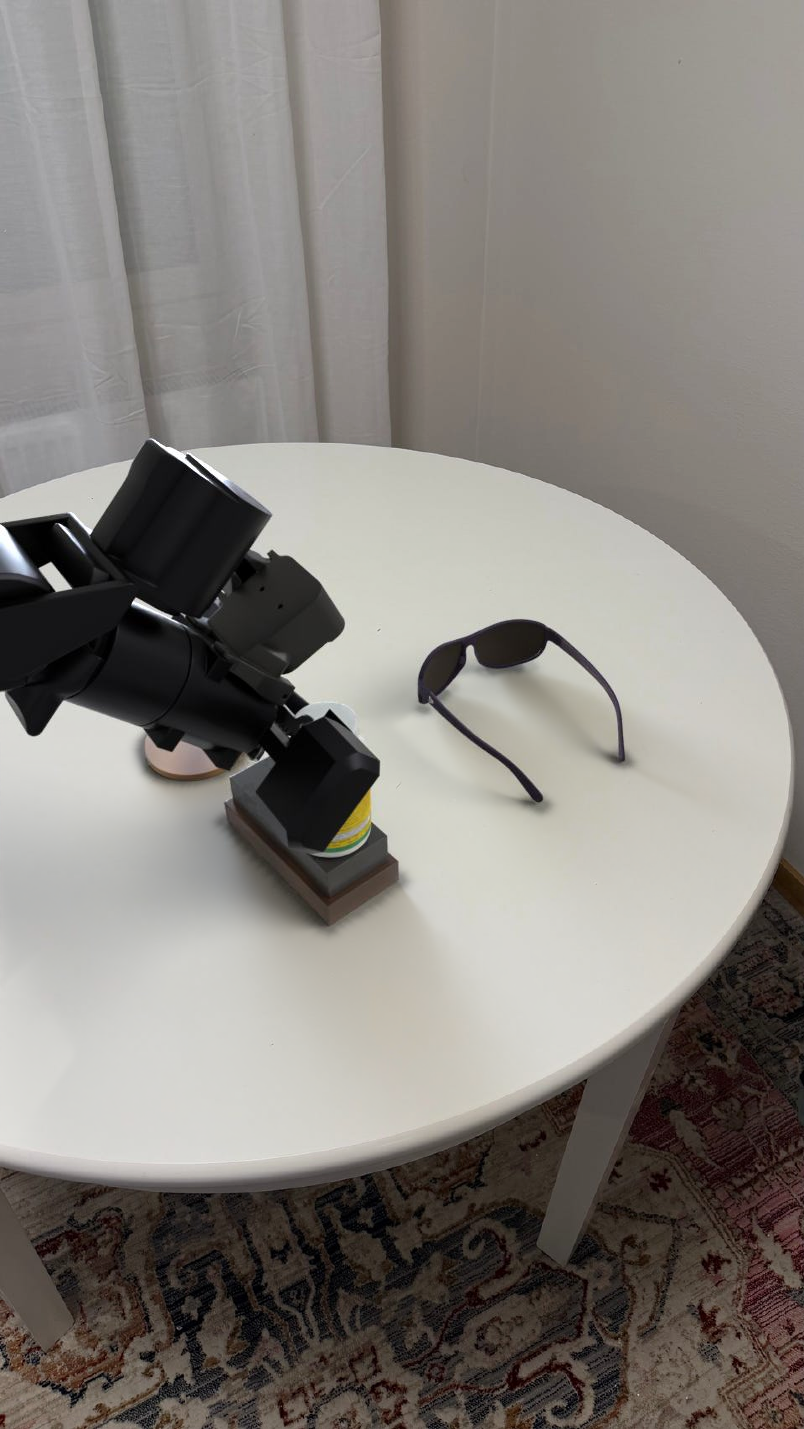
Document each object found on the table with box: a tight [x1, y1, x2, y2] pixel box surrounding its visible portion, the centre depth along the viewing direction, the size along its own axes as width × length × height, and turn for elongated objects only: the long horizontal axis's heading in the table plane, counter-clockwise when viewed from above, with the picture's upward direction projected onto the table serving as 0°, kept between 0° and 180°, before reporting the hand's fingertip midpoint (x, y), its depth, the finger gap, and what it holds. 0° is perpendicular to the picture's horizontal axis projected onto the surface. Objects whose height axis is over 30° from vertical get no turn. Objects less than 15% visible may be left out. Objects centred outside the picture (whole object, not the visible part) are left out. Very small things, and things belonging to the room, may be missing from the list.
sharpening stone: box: [223, 755, 400, 926], centre depth 70 cm, size 13×6×4 cm, turn 40°
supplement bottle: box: [295, 700, 372, 858], centre depth 64 cm, size 5×5×10 cm
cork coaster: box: [143, 734, 244, 782], centre depth 80 cm, size 8×8×1 cm
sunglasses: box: [417, 618, 626, 804], centre depth 80 cm, size 14×16×5 cm
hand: (345, 749), depth 63 cm, fingers closed on supplement bottle, 5 cm apart
